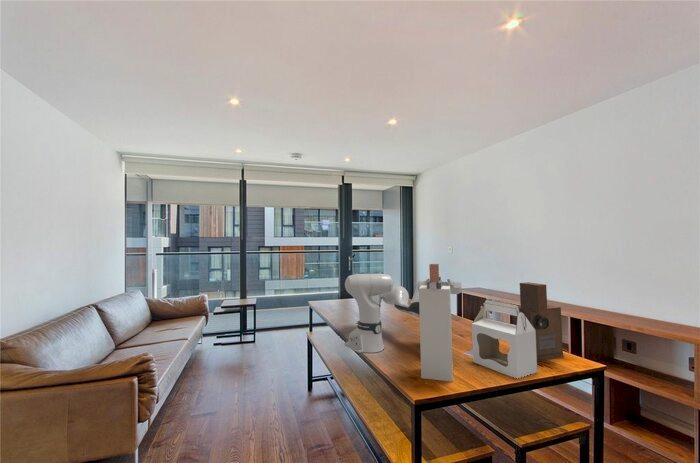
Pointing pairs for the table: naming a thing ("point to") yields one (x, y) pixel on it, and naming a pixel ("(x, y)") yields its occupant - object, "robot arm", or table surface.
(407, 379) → the table surface
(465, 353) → the mobile phone
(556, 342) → the vintage camera
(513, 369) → the gable box
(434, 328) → the post
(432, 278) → the brown flat block
